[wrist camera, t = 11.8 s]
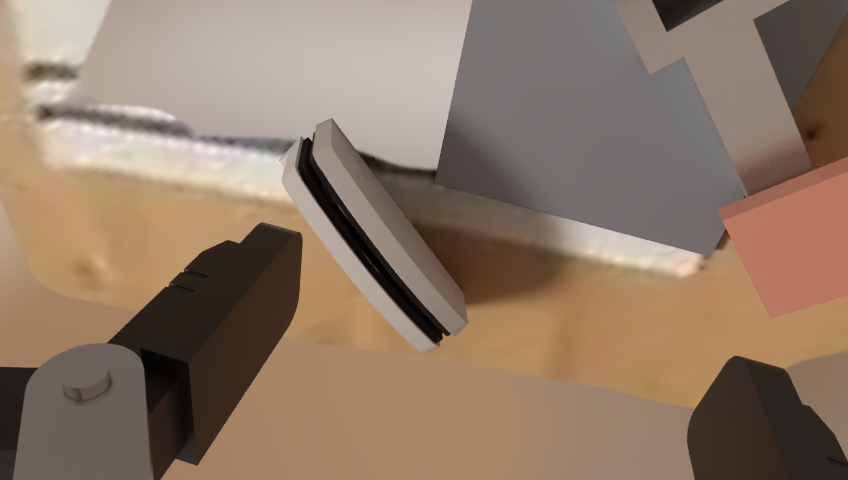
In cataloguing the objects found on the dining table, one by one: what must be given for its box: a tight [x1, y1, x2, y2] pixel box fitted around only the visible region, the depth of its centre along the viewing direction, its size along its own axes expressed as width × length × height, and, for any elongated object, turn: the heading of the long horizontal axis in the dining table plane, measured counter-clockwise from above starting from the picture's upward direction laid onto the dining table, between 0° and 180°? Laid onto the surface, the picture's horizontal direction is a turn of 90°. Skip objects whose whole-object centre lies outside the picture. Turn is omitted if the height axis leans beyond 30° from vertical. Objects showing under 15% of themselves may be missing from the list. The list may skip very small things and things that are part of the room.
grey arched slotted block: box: [279, 118, 468, 353], centre depth 38 cm, size 17×5×10 cm, turn 36°
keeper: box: [717, 157, 848, 318], centre depth 30 cm, size 7×6×8 cm
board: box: [434, 0, 848, 256], centre depth 32 cm, size 20×18×1 cm
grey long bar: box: [613, 0, 814, 197], centre depth 28 cm, size 16×6×5 cm, turn 35°
